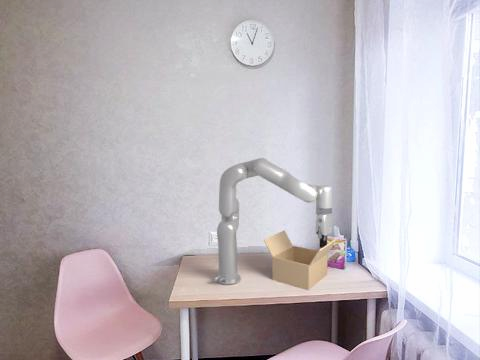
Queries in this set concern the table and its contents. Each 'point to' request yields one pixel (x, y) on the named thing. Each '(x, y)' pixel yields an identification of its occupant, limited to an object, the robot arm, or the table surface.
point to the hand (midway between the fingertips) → (323, 247)
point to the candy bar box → (337, 253)
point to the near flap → (323, 252)
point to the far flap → (278, 243)
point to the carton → (298, 267)
